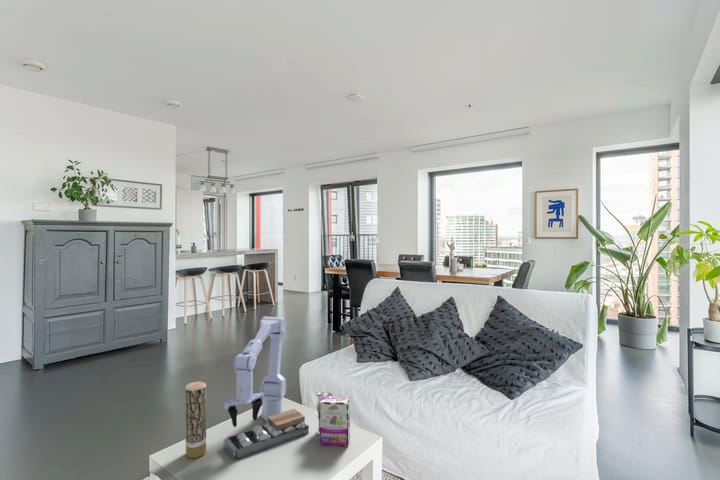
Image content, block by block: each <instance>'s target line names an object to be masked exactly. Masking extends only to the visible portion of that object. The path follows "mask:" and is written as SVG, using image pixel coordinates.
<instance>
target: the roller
mask: <svg viewBox="0 0 720 480" xmlns="http://www.w3.org/2000/svg"><path fill="white" fill-rule="evenodd" d="M239 433H240V434H239ZM239 433H238V434H239V435H237V437H236V443H235V444H237V445H238V447H239V449H241V448H244V447H247V446H249V445H252V444H254V443H253V442H252V441H251V440H250V439H249V438H248V437H247V436H246V435H245V434H244V433H242V432H239Z"/></svg>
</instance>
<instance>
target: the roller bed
mask: <svg viewBox="0 0 720 480" xmlns="http://www.w3.org/2000/svg"><path fill="white" fill-rule="evenodd" d="M309 427H310V426H309V425H308V424H306V423H305V421H304V422H301V423H298V424H296V425H293V426H290V427H287V428H284V429H281V430H278V431H277V430H276V429H275V428H274V427H273V426H271V425H270V424H269V423H268V422H267V421H266V423H265V424H263V425H259V424H258V425H255V426H254V427H253V428H251V429H248V430H244V431H242V432H238V433H235V434H233V435H229V436H227V437H226V438H224V439H223V447H224V449H225V451H226V452H227V454H228V455H229V456H230V457H231V459H232V460H240V459H243V458H245V457H247V456H251V455H253V454H256V453H259V452H261V451H264V450H268V449H270V448H272V447H275V446H277V445H281V444H283V443H286V442H288V441H291V440H293V439H296V438H299V437H302V436H304V435H307V434H309V433H310V432H309ZM240 433H244V434H245V435H246V436H247V437H248V438H249V440H250V439H252V438H254V440H255V441H257V442H255V443H253V444H252V445H249V446H247V447H244V448H237V447H236V446H235V444H237V443H236V437H237V435H239V434H240Z"/></svg>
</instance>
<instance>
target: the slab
mask: <svg viewBox="0 0 720 480" xmlns="http://www.w3.org/2000/svg"><path fill="white" fill-rule="evenodd" d="M305 418H306V416H305V415H304V414H302V413H301V412H299V410H297V409H296V408H293V409H289V410H286V411H282V413H279V414H276V415H273V416H270V417H268V423H269V424H270V425H271V426H273V427H274V428H275V429H276V430H277V431H278V430H281V429H284V428H287V427H290V426H293V425H296V424H298V423H301V422H304V423H305Z"/></svg>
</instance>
